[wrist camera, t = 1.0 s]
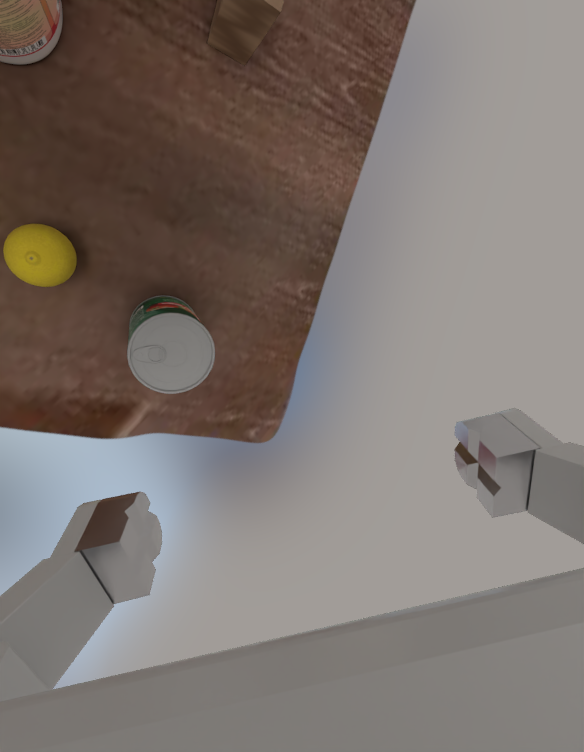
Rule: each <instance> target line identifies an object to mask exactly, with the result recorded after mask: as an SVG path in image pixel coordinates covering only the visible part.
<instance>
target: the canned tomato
mask: <svg viewBox="0 0 584 752" xmlns="http://www.w3.org/2000/svg"><path fill="white" fill-rule="evenodd" d="M127 358H128V363H129V366H130V369H131V371H132V373H133V374H134V376H135V377H136V378H137V380H138V381H140V382H141V383H142V384H143V385H144V386H146V387H148V388H149V389H151V390H154V391H157V392H160V393H167V394H176V393H181V392H185V391H188V390H190V389H192V388H194V387H196V386H197V385H199V384H200V383H201V382H202V381H203V380H204V379H205V378H206V377H207V376H208V374H209V373H210V371H211V369H212V367H213V363H214V360H215V348H214V343H213V340H212V337H211V335H210V333H209V332H208V330H207V329H206V328H205V327H204V325H203V324H202V322H201V321H200V320H199V318H198V317H197V315H196V314H195V313H194V311H193V310H192V308H191V307H190V306H189V305H188V304H186V303H185V302H184V301H182V300H180V299H178V298H175V297H172V296H164V295H162V296H155V297H151V298H149V299H147V300H145V301H143V302H142V303H141V304H139V305H138V306H137V308H136V309H135V310H134V311H133V314H132V316H131V318H130V323H129V338H128V348H127Z"/></svg>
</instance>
